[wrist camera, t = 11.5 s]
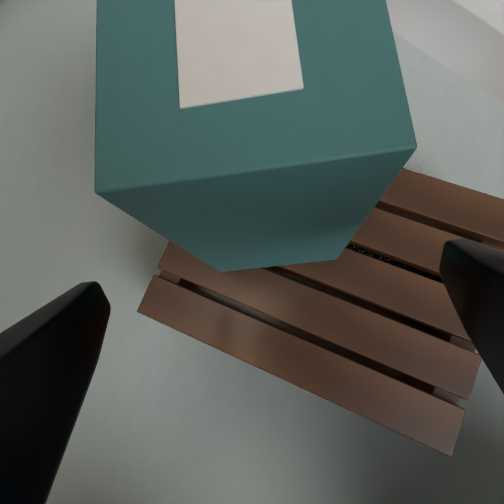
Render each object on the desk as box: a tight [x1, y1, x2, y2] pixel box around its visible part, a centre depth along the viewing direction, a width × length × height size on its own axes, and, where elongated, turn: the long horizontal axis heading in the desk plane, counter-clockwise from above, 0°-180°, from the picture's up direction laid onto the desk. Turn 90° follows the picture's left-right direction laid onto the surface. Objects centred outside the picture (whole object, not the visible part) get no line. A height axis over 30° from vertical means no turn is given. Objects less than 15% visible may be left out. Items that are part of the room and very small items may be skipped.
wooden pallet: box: [137, 168, 504, 457], centre depth 19 cm, size 12×16×4 cm
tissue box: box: [94, 0, 417, 272], centre depth 12 cm, size 7×6×11 cm
